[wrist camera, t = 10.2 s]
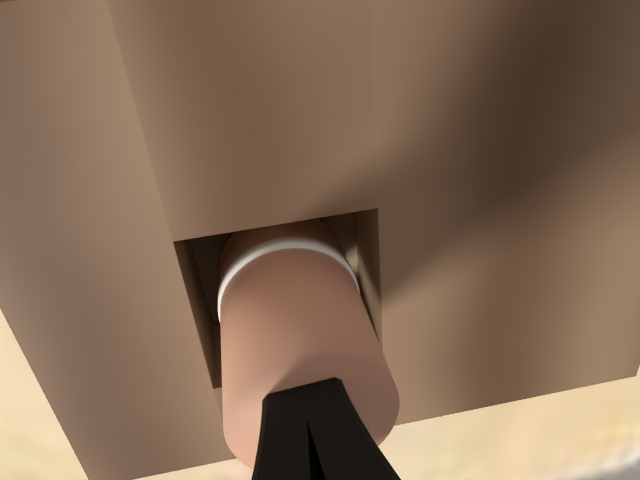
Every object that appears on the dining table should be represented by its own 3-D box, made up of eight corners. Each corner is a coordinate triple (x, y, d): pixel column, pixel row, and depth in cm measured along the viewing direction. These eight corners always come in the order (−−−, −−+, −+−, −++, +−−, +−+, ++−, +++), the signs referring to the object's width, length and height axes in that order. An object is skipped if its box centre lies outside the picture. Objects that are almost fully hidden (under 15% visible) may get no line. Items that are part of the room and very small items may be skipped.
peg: (323, 177, 14) (388, 327, 9) (347, 276, 16) (412, 450, 11) (199, 211, 14) (193, 383, 9) (237, 307, 16) (250, 497, 11)
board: (682, -88, 12) (782, -88, 10) (587, 322, 18) (636, 375, 16) (-77, -3, 10) (-149, 19, 8) (107, 415, 17) (92, 487, 15)
